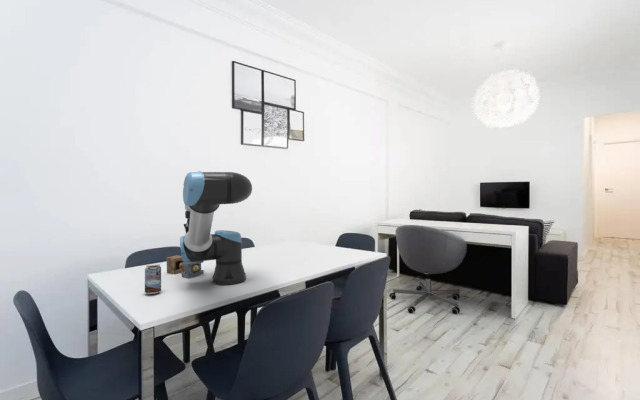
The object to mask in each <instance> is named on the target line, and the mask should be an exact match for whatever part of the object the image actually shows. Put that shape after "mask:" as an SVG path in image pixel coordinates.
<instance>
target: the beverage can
mask: <svg viewBox="0 0 640 400" xmlns="http://www.w3.org/2000/svg"><path fill="white" fill-rule="evenodd" d="M161 291H162V266H161V265H160V264H158V263H157V264H156V263H155V264H147V265H146V267H144V293H146V294H147V295H153V294H154V295H155V294H160V292H161Z"/></svg>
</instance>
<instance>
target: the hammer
mask: <svg viewBox="0 0 640 400" xmlns="http://www.w3.org/2000/svg"><path fill="white" fill-rule="evenodd" d="M183 263H184V262H183ZM179 268H180V269H184V265H181V263H180V264H179ZM192 268H193V271H196V272H197V271H198V270H199V266H198V265H192Z"/></svg>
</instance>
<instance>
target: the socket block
mask: <svg viewBox="0 0 640 400" xmlns="http://www.w3.org/2000/svg"><path fill="white" fill-rule="evenodd" d="M165 261H166V273H167V274H168V275H169V274H170V275H178V274H182V273H184V269H180V268H179V264H180V263H183V260H182V256H181V255H177V254H176V255H173V256H167V257H166V260H165Z"/></svg>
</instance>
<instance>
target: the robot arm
mask: <svg viewBox="0 0 640 400" xmlns="http://www.w3.org/2000/svg"><path fill="white" fill-rule="evenodd" d="M252 191H253V184H252V182H251V180H250V179H249V178H248V177H247V176H245V175H243V174H241V173H238V172H233V171H228V172H227V171H201V170H199V171H191V172H188V173H186V175H185V177H184V180H183V190H182V200H183V203H184V210H185V211H184V215H185V216H184V217H185V219H186V223H183V226H184V229H185V235H183V236H180V237H179V248H180V254H181V255H180V256H182V260H183V262H186V263H187V262H191V263H192V262H199V261H203V262H207V261H215V267H214V272H213V274H212V278H211V279H212V280H211V281H212V283H213V284H214V285H218V286H219V285H220V286H228V285H237V284H241V283H243V282H245V281H246V280H247V275H246V272H245V268H244V265H243V262H242V261H243V256H242V250H243V248H242V247H243V246H242V243H243V241H242V235H241V233H240V232H238V231H234V230H226V229H225V230H224V229H223V230H222V229H221V230H218V229H217V230H215V232H214V233H213V234H211V230H212V226H213V225H212V224H213V221H214V215H215V212H216V211H217V210H218V209H219V208H220V205H231V204H238V203H242V202H243V201H245V200H247V199H248V198H250V196H251V194H252V193H253V192H252Z"/></svg>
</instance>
